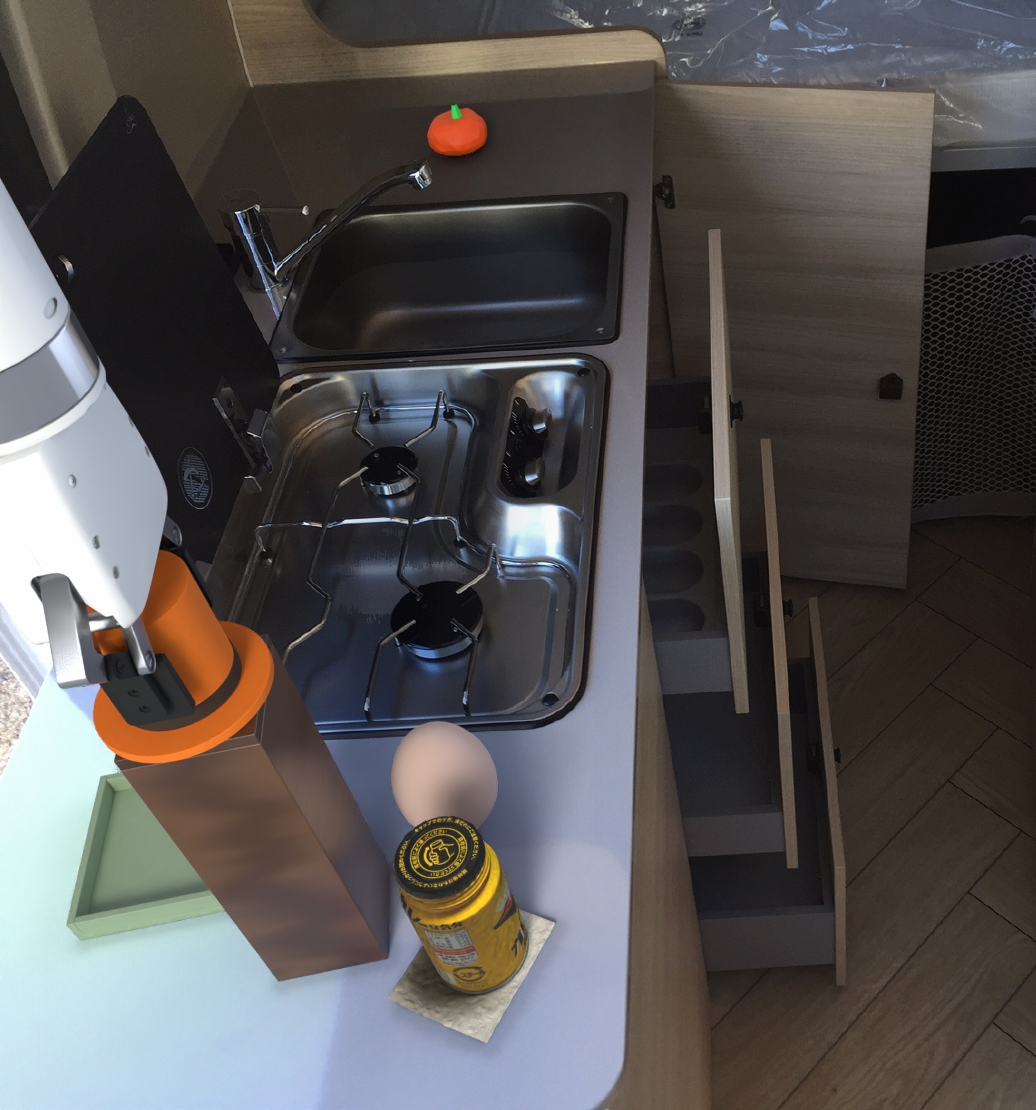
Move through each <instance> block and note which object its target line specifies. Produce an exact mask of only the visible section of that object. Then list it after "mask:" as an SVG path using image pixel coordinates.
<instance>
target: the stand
mask: <svg viewBox="0 0 1036 1110" xmlns="http://www.w3.org/2000/svg"><path fill="white" fill-rule="evenodd" d="M258 635H259V636H260V637H261V638H262V639H263V641H264V642H265V644H266V645H267V647H268V649H269V651H270V653H271V656H272V658H273V663H274V677H273V683H272V686H271V689H270V692H269V694H268V696H267V698H266V700H265V702H264V703H263V705H262V706H261V708H260V709H259V711H258V712H257V713H256V714H255V715H254V717H253V718H252V719H251V720H250V721H249V722H248V723H247V724H246V725H245V726H244V727H243V728H241V729H240V730H239V731H238V732H237V733H235V734H234V735H233V736H231V737H230V738H228V739H227V740H225V741H224V742H222V743H220V744H219V745H217V746H215V747H213V748H211V749H209V750H207V751H205V752H203V753H200V754H198V755H195V756H192V757H189V758H186V759H182V760H178V761H172V762H166V763H141V762H136V761H131V760H128V759H125V758H123V757H121V756H119V755H117V754H115V753H114V754H115V755H114V759H113V763H114V764H115V766H116V767H117V768H118V769H119V770H120V772H122V774H123V775H124V776H125V778H126V779H127V780H128V782H129V783H130V784H131V786H132V787H133V788H134V790H135V791H136V792H137V794H138V795H139V796H140V798H141V799H142V800H143V802H144V803H145V804H146V806H147V807H148V808H149V810H150V811H151V812H152V814H153V815H154V816H155V818H156V819H157V820H158V822H159V823H160V824H161V826H162V827H163V828H164V830H165V831H166V832H167V834H168V835H169V836H170V838H171V839H172V840H173V842H174V843H175V844H176V846H177V847H178V848H179V850H180V851H181V852H182V854H183V855H184V856H185V858H186V859H187V860H188V862H189V863H190V864H191V866H192V867H193V868H194V870H195V871H196V872H197V874H198V875H199V876H200V878H201V879H202V880H203V882H204V883H205V884H206V886H207V887H208V888H209V890H210V891H211V892H212V894H213V895H214V896H215V898H216V899H217V900H218V902H219V903H220V904H221V906H222V907H223V908H224V910H225V911H224V912H226V914H227V915H228V916H229V918H230V920H231V921H232V922H233V923H234V924H235V926H236V927H237V929H238V930H239V931H240V933H241V934H242V935H243V937H244V938H245V939H246V941H247V942H248V943H249V944H250V946H251V947H252V949H253V950H254V951H255V952H256V954H257V955H258V957H259V958H260V959H261V960H262V962H263V963H264V964H265V965H266V967H267V969H268V970H269V972H270V973H271V974H272V975H273V976H274V978H275V979H276V981H277V982H283V981H284V982H285V981H289V980H293V979H297V978H302V977H303V978H304V977H307V976H312V975H317V974H322V973H327V972H332V971H337V970H340V969H346V968H351V967H355V966H359V965H364V964H365V965H366V964H368V963H372V962H373V963H374V962H378V961H384V960H387V959H389V927H390V923H389V922H390V880H391V879H390V877H391V875H390V874H391V865H390V863H389V861H388V859H387V857H386V855H385V853H384V851H383V849H382V847H381V845H380V844H379V841H378V840H377V839H376V836H375V835H374V832H373V831H372V828H371V827H370V825H369V823H368V821H367V819H366V817H365V816H364V813H363V811H362V810H361V808H360V805H359V803H358V802H357V800H356V798H355V796H354V795H353V793H352V791H351V788H350V787H349V785H348V783H347V782H346V779H345V778H344V775H343V774H342V772H341V770H340V768H339V765H337V762H336V759H334V757H333V755H332V753H331V751H330V749H329V747H328V745H327V744H326V742H325V740H324V737H323V735H322V734H321V732H320V730H319V729H318V727H317V724H316V722H315V721H314V719H313V717H312V715H311V713H310V711H309V709H308V707H307V706H306V704H305V701H304V700H303V698H302V696H301V695H300V692H299V691H298V689H297V687H296V685H295V683H294V681H293V679H292V678H291V675H290V674H289V672H288V670H287V668H286V666H285V664H284V662H283V660H282V658H281V657H280V655H279V653H278V651H277V649H276V648H275V645H274V643H273V641H272V640H271V638H270V636H269V634H268V633H263V634H258Z"/></svg>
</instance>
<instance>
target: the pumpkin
mask: <svg viewBox="0 0 1036 1110" xmlns="http://www.w3.org/2000/svg"><path fill="white" fill-rule="evenodd" d="M426 136H427V140H428V144H429V148H431V149H432V150H433V151H434V152H435V153H437V154H439V155H441V154H444V155H463V154H467V153H470V152H473V151H475V150H477V149H479V148H480V147H482V146H483V147H484V145H485V144H486V142H487V138H488V126H487V123H486V121H485V120H484V118H483V117H482V116H481V115H479V114H478V113H477V112H475V111H474V110H473V109H470V108H469V107H464V108H459V106H458V105H457V103H456V104H455V105H454V104H453V105H451V106H450V110H448V111H447V110H446V111H445V112H443V113H440V114H438V115H437V116H435V117H434V118H433V120H432V122H431V123H430V125H429V128H428V130H427V133H426ZM483 147H482V148H483ZM480 149H481V148H480ZM480 149H479V150H480ZM472 154H474V153H472ZM472 154H469V155H466V156H465V157H467V156H470V155H472ZM444 155H443V156H444ZM459 158H462V157H461V156H460V157H459Z"/></svg>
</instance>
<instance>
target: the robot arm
mask: <svg viewBox="0 0 1036 1110" xmlns="http://www.w3.org/2000/svg"><path fill="white" fill-rule="evenodd" d="M70 304H71V303H69V301H68V300H67V298H66V295H65V294H64V292H63V290H62V288H61V287H60V285H59V283H58V282H57V280H56V278H55V276H54V274H53V272H52V270H51V269H50V267H49V265H48V263H47V261H46V259H45V257H44V256H43V253H42V252H41V250H40V248H39V247H38V245H37V242H36V241H35V239H34V237H33V235H32V234H31V232H30V230H29V228H28V226H27V224H26V222H25V221H24V219H23V217H22V215H21V213H20V212H19V210H18V208H17V206H16V204H15V203H14V201H13V198H12V196H11V195H10V193H9V191H8V190H7V188H6V185H5V184H4V182H3V180H2V179H1V178H0V604H1V606H2V607H3V609H4V610H5V611H6V613H7V614H8V616H9V617H10V619H11V620H12V621H13V623H14V624H15V626H16V627H17V629H18V630H19V631H20V633H22V635H23V636H24V637H25V638H26V639H27V640H28V641H29V642H31V643H32V644H34V645H36V646H40V645H44V644H48V643H49V648H50V654H51V660H52V666H53V673H54V676H55V681H56V684H57V686H58V687H59V688H60V690H67V689H75V688H83V687H89V686H90V687H91V686H95V685H99V686H101V688H102V689H103V690H104V692H105V693H106V695H107V696H108V697H109V699H110V700H111V702H112V703H113V704H114V706H115V707H116V709H117V710H118V711H119V713H120V714H121V716H122V717H123V718H124V720H125V721H126V723H127V724H129V725H132V726H140V725H145V724H150V723H155V722H160V721H166V720H171V719H176V718H181V717H186V716H190V715H192V714H194V711H195V705H196V702H195V700H194V699H193V697H192V695H191V694H190V692H189V691H188V689H187V688H186V686H185V684H184V683H183V681H182V680H181V678H180V677H179V675H178V673H177V672H176V670H175V669H174V667H173V666H172V664H171V662H170V661H169V659H168V658H167V656H166V654H165V653H163V654H161V653H158V654H154V651H153V648H152V646H151V643H150V640H149V637H148V634H147V631H146V629H145V626H144V623H143V620H142V617H141V615H140V614H141V613H142V611H143V609H144V607H145V604H146V601H147V597H148V593H149V589H150V585H151V581H152V577H153V573H154V568H155V564H156V560H157V555H158V551H159V550H164V551H167V552H170V553H173V554H175V555H176V556H178V557H180V558H181V559H182V560H183V561H184V563H185V564H186V566H187V567H188V569H189V571H190V573H191V574H192V576H193V578H194V580H195V582H196V583H197V585H198V587H199V589H200V590H201V592H202V594H203V596H204V597H205V599H206V601H207V603H208V604H209V606H210V608H211V609H212V608H213V604H214V598H215V597H214V595H213V593H212V592H211V589H210V588H209V586H208V585H207V583H206V581H205V578H204V577H203V575H202V573H201V572H200V570H199V568H198V566H197V565H196V563H195V561H194V560H193V558H192V556H191V555H190V552H189V551H188V549H187V548H186V547H182V548H179V547H181V546H182V545H183V535H182V531H181V529H180V526H179V525H178V524H177V523H176V522H175V521H174V520H173V519H171V517H170V516H168V515H167V510H168V490H167V486H166V483H165V480H164V478H163V476H162V475H163V474H162V473H161V471H160V469H159V466H158V464H157V463H156V461H155V459H154V457H153V455H152V453H151V451H150V449H149V447H148V445H147V443H146V442H145V440H144V439H143V437H142V435H141V434H140V432H139V430H138V429H137V427H136V424H134V422H133V420H132V419H131V417H130V415H129V413H128V412H127V410H126V409H125V407H124V406H123V405H122V403H121V401H120V400H119V398H118V397H117V395H116V394H115V392H114V391H113V389H112V388H111V386H110V385H109V383H108V382H107V375H106V374H107V372H106V368H105V366H104V364H103V363H102V361H101V359H100V358H99V355H98V354H97V352H96V350H95V348H94V346H93V344H92V342H91V341H90V339H89V337H88V335H87V333H86V332H85V330H84V328H83V326H82V324H81V322H80V320H79V319H78V318H77V315H76V314H75V311H74V310H73V308H72V306H71V305H70ZM86 604H87V605H88V606H90V607H91V608H93V609H94V610H96V611H97V612H92V613H88V612H87V606H86ZM120 627H121V630H122V633H123V636H124V638H125V641H126V644H127V647H128V649H129V651H124V652H117V653H112V654H105V655H103V654H102V652H101V649H100V647H99V644H98V641H97V639H96V636H95V633H94V632H98V631H104V630H109V629H114V628H120Z"/></svg>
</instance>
